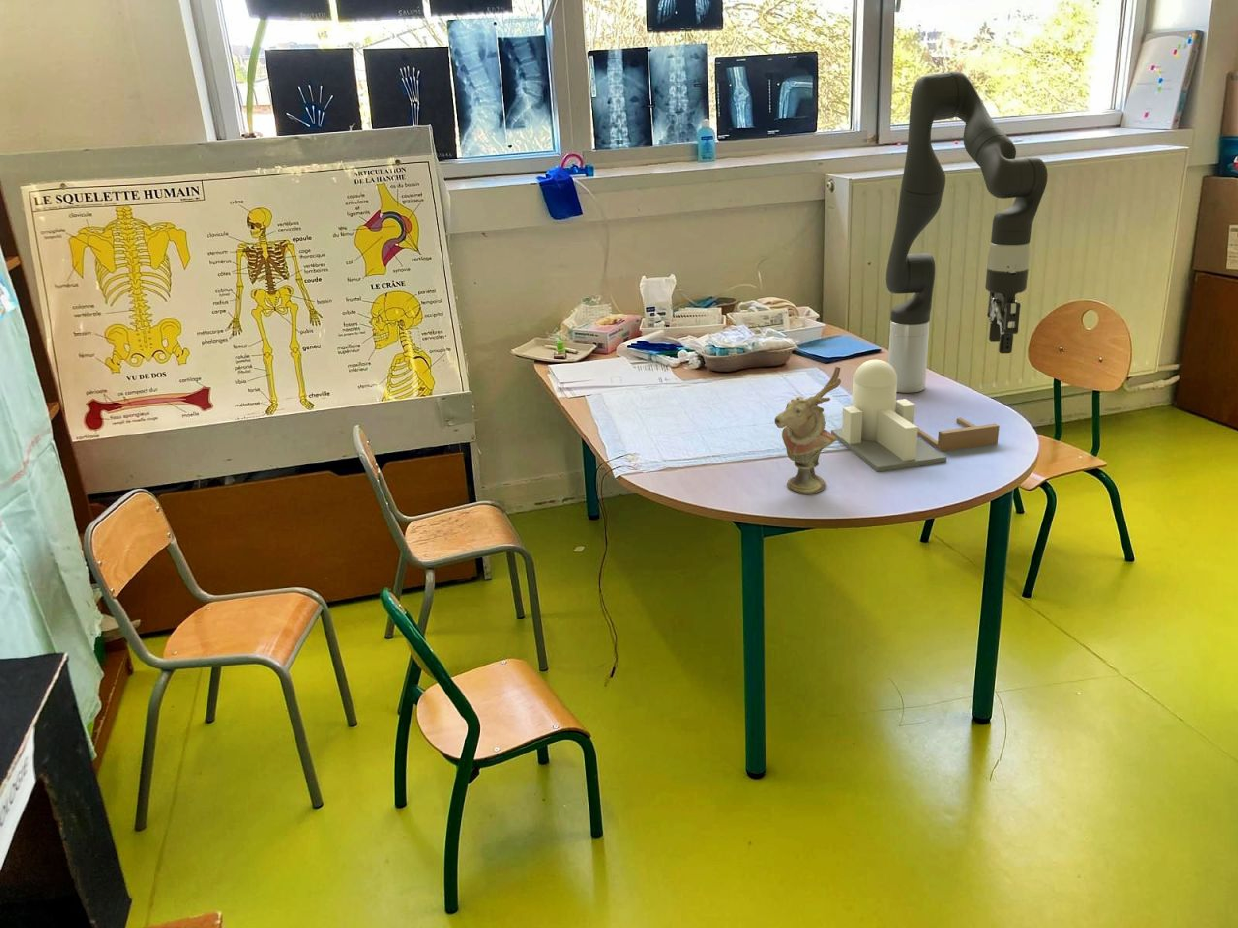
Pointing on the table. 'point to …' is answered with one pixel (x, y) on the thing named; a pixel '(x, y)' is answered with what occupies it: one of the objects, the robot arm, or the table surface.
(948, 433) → the brown u-shaped frame
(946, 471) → the table surface
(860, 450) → the bracket-mounted cylinder
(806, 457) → the decorative bust
